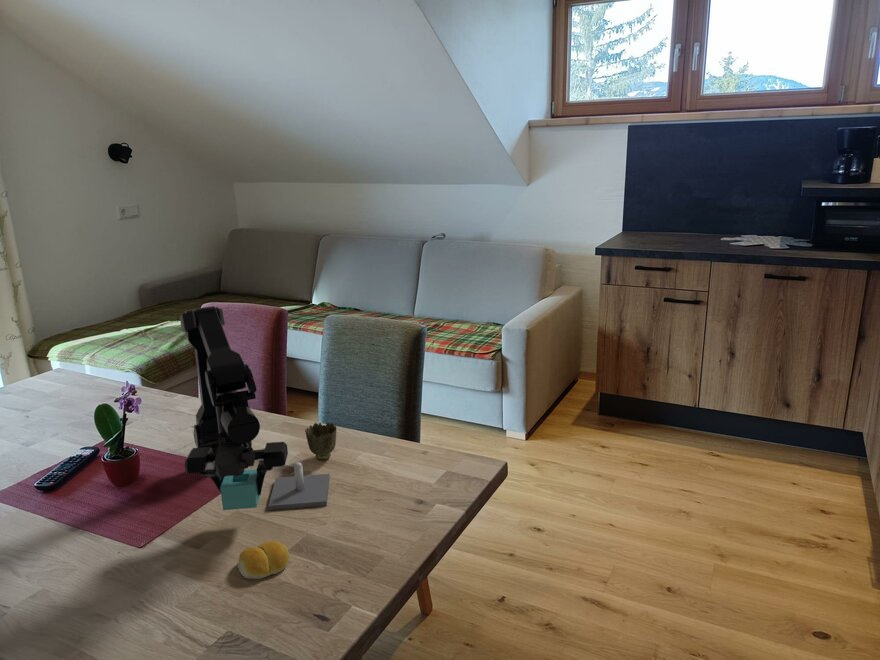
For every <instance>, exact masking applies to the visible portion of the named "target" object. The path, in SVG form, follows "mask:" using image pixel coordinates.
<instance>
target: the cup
mask: <svg viewBox="0 0 880 660" xmlns="http://www.w3.org/2000/svg"><path fill="white" fill-rule="evenodd" d="M337 430H338V429H337V426H336V425H335V424H334V423H333V422H331V423H330V422H326V424H324V425H322V423H321V422H319V423H317V422H315V423H313V425H311V424H310V425H309V427H308V426H306V428H305V430H304V431H305V436H306V440H307V441H306V442H307V446H308V448H309V450H310V452H311V453H312V454H313V455H315V456H314V457H315V458H316V459H317V460H318V461H319V462H321V461H324V462H325V461H328V460H329V459H330V458H331V456H332V455H331V453H333V451H334V450H335V449H336V443H337Z"/></svg>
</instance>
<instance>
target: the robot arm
mask: <svg viewBox="0 0 880 660" xmlns="http://www.w3.org/2000/svg"><path fill="white" fill-rule="evenodd" d="M179 323H180V326H181V328H180V329H181V331H182V333H184V335H185V337H186V339H187V341H188V342H189V344H190V345H191V346H192V347H193V349H194V355H195V362H196V363H195V364H196V371H197V379H198V380H197V381H198V387H199V393H200V394H199V395H200V404H201V405H200V406H199V409H198V410H197V412H196V414H195V423H196V424H194V426H193V439H194V444H195V445H196V447H193V448H192V449H191V450H190V452H189V453H188V455H187V456H186V459H185V460H184V468H185V473H187V474H195V473H197V474H198V473H199V474H200V475H201V476H206V477H207V478H208V477H209V478H210V479H211V481H212V482H213V483H214V485H215V486H216V488H217V489H218V491H219V493H220V494H221V490H220V486H221V484H222V482H223V479H224V477H225V476H234V475H235V476H240V475H242V474H243V473H244V470H247V469H249V467H254V465H255V461H257V462H258V464H257V467H256V469H257V491H258V495H260V494H261V495H262V491H263V490H262V489H263V485H264V481H265V476H266V474H267V472H268V471H272V470H273V468H279V467H284V466H285V465H286V462H287V458H288V455H289V449H288V444H287V443H285V442H284V441H275V442H266V445H265V447H264V448H261V449H254V448H253V447H252V446H253V443H252V441H253V440H255V439H256V438H257V436H258V434H259V433H260V429H261V424H260V421H259V419H258V417H257V416H256V415H255V413H254V412H253V411H252V409H251V408H250V406H249V401H251V400H255V399H256V392H257V385H256V382H255V378H254V375H253V371H252V369H251V368H250V366H249V365H248V363H245V362H244V359H243V358H242V356H241V354H240V353H238V352H237V351H235V350H232V348H231V346H230V343H229V340H228V338H227V335H226V333H225V330H224V326H225V325H226V322H225V318H224V312H223V309H222V308H221V307H220V308H219V307H218V306H205V307H198V308H197V307H196V308H195V309H187V310H185V311H184V313H182V314H181V315H180V316H179ZM246 388H247V389H246ZM243 389H246V390H243ZM240 390H242V391H240ZM261 490H262V491H261ZM261 495H260V496H261Z"/></svg>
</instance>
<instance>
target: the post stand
mask: <svg viewBox="0 0 880 660" xmlns="http://www.w3.org/2000/svg"><path fill="white" fill-rule="evenodd" d="M303 469H304V468H303V463H301V462H299V461H297V462H295V463H294V464H293V471H294V475H293V476H282V477H281V476H280V477H275V480H274V484H273V487H272V491H271V495H270V499H269V502H268V511H272V510H273V511H274V510H286V509H298V508H299V509H300V508H310V507H313V508H314V507H324V506H327V505H328V496H329V487H330V486H329V485H330V473H321V474H309V475H308V474H307V475H304V471H303Z"/></svg>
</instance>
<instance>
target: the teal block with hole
mask: <svg viewBox="0 0 880 660" xmlns="http://www.w3.org/2000/svg"><path fill="white" fill-rule="evenodd" d="M220 490H221V493H220V495H221V497H220V498H221V505H222V510H223V511H231V510H232V511H233V510H243V509H256V508H257V507H258V505H259V501H260V498H261V495H262V493H261V494H260V495H258V491H257V468H256V469H253V468H252V469H244V473H243V474H242V475H240V476H235V475H234V476H225V477H224V479H223V482H222V484H221V486H220ZM262 491H263V490H261V492H262Z"/></svg>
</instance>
